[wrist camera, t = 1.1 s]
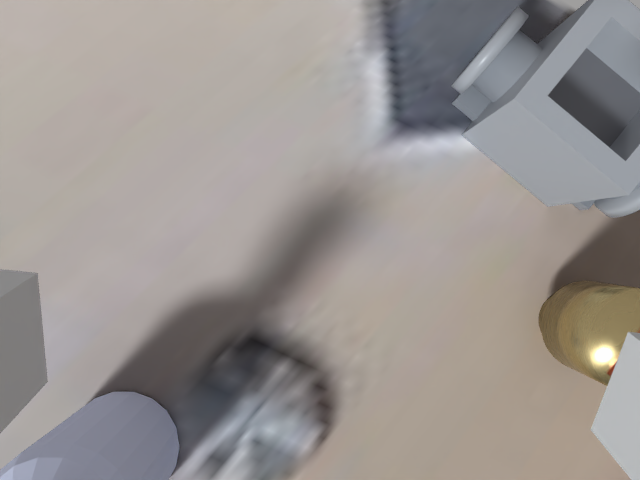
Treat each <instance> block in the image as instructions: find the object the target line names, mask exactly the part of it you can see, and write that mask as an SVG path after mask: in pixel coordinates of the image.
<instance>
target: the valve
mask: <svg viewBox="0 0 640 480" xmlns="http://www.w3.org/2000/svg"><path fill="white" fill-rule="evenodd" d="M539 327H540V330H541V332H542V336H543V340H544V343H545V345H546V347H547V349H548V350H549V352H550V353H551V354H552V355H553V357H554V358H555V359H557V360H558V361H559V362H560V363H562V364H564V365H565V366H567V367H569V368H571V369H574V370H576V371H578V372H580V373H582V374H584V375H586V376H588V377H590V378H592V379H594V380H596V381H598V382H600V383H602V384H604V385H606V386H608V383H609V381H610V378H611V375H612V373H613V370H614V367H615V365H616V362H617V360H618V357H619V354H620V352H621V349H622V346H623V344H624V341H625V338H626V336H627V333H628V332H634V333H640V288H635V287H628V286H621V285H614V284H607V283H600V282H593V281H578V282H574V283H571V284H568V285H566V286H564V287H562V288H561V289H559V290H558V291H557V292H556V293H555V294H554V295H552V296H551V297H550V298H548V299H547V300H546V301H545V303H544V304H543V306H542V308H541V310H540V313H539Z"/></svg>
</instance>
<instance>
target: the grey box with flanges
mask: <svg viewBox="0 0 640 480" xmlns="http://www.w3.org/2000/svg"><path fill="white" fill-rule="evenodd" d="M528 17H529V15H528V14H526V13H525V12H524V11H523V10H522V9H521V8H519V7H517V8H516V9H515V10H514V11H513V12H512V13H511V15H510V16H509V17H508V18H507V19H506V20H505V21H504V23H503V24H502V25H501V26H500V27H499V28H498V30H497V31H496V32H495V33H494V34H493V35H492V37H491V38H490V39H489V40H488V41H487V42H486V44H485V45H484V46H483V47H482V48H481V50H480V51H479V52H478V53H477V54H476V56H475V57H474V58H473V59H472V60H471V62H470V63H469V64H468V65H467V67H466V68H465V69H464V70H463V71H462V73H461V74H460V75H459V76H458V78H457V79H456V80H455V82H454V83H453V84H452V87H453V88H454V89H455V90H457V91H458V92H459V93H460V94H459V95H458V96H457V98H456V99H455V100H454V101H453V102H452V104H453V105H454V106H455V107H457V108H458V109H459V110H460V111H461V112H463V113H464V114H465V115H466V116H467V117H469V118H470V119H471V120H472V121H473V122H472V123H471V124H470V125H469V126H468V128H467V129H466V130H465V131H464V133H463V134H462V136H463V137H465V138H466V139H467V140H468V141H469V142H471V143H472V144H473V145H474V146H475V147H477V148H478V149H479V150H480V151H481V152H483V153H484V154H485V155H486V156H487V157H489V158H490V159H491V160H492V161H493V162H495V163H496V164H497V165H498V166H499V167H501V168H502V169H503V170H504V171H505V172H507V173H508V174H509V175H510V176H511V177H513V178H514V179H515V180H516V181H518V182H519V183H520V184H521V185H522V186H524V187H525V188H526V189H527V190H528V191H530V192H531V193H532V194H533V195H534V196H536V197H537V198H538V199H539V200H540V201H542V202H543V203H544V204H545V205H546V206H555V205H563V204H570V203H572V204H573V205H574V206H575V207H577V208H578V209H579V210H586V209H589V208H590V207H591V206H592V205H593V203H594V204H595V206H596V207H597V208H598V209H599V210H600V211H602V212H603V213H604V214H605V215H606V216H608V217H622V216H626V215H629V214H631V213H634V212H636V211H638V210H640V9H638V8H637V7H636V6H635V5H634V4H632V3H631V2H630V1H629V0H588V1H587V2H586V3H585V4H583V5H582V6H581V7H580V8H579V9H578V10H576V11H575V12H574V13H573V14H572V15H571V16H569V17H568V18H567V19H566V20H565V21H564V22H562V23H561V24H560V25H559V26H558V27H557V28H555V29H554V30H553V31H552V32H551V33H550V34H548V35H547V36H546V37H545V38H544V39H543V40H541V41H540V42H539V43H538V44H536V43H535V42H534V41H533V40H531V39H530V38H529V37H528V36H527V35H525V34H524V33H523V32H522V31H521V30H519V29H520V28H521V27H522V25H523V24H524V23H525V21H526V20H527V18H528Z"/></svg>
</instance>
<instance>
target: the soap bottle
mask: <svg viewBox="0 0 640 480" xmlns="http://www.w3.org/2000/svg"><path fill="white" fill-rule="evenodd" d="M179 448H180V447H179V441H178V435H177V429H176V426H175V424H174V423H173V421H172V419H171V417H170V416H169V414H168V412H167V411H166V410H165V409H164V408H163V407H162V406H161V405H159V404H158V403H157V402H156V401H155V400H153V399H152V398H149V397H147V396H144V395H141V394H139V393H136V392H111V393H108V394H106V395H103V396H100V397H97V398H95V399H93V400H92V401H91V402H89V403H88V404H86V405H85V406H84V407H82V408H81V409H80V410H78V411H77V412H76V413H74V414H73V415H72V416H70V417H69V418H68V419H66V420H65V421H63V422H62V423H61V424H59V425H58V426H57V427H55V428H54V429H53V430H51V431H50V432H49V433H47V434H46V435H44V436H43V437H42V438H40V439H39V440H38V441H36V442H35V443H34V444H32V445H31V446H30V447H28V448H27V449H26V450H24V451H23V452H21V453H20V454H19V455H18V456H17V457H15V458H14V459H13V460H12V461H10V462H9V463H8V464H7V465H6V466H4V467H3V468H2V469H1V470H0V480H168V479H169V478H170V476H171V474H172V472H173V471H174V469H175V467H176V464H177V458H178V453H179Z"/></svg>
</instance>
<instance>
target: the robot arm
mask: <svg viewBox="0 0 640 480" xmlns="http://www.w3.org/2000/svg"><path fill="white" fill-rule="evenodd" d="M47 382H48V381H47V370H46V359H45V348H44V337H43V326H42V315H41V305H40V294H39V283H38V273H32V272H22V271H12V270H2V269H0V433H1V432H2V431H3V430H4V429H5V428H6V427H7V426H8V424H9V423H10V422H11V421H12V420H13V419H14V418H15V417H16V416H17V415H18V414H19V412H20V411H21V410H22V409H23V408H24V407H25V406H26V405H27V404H28V403H29V401H30V400H31V399H32V398H33V397H34V396H35V395H36V394H37V393H38V392H39V391H40V389H41V388H42V387H43V386H44V385H45V384H46V383H47ZM591 431H592V432H593V433H594V434H595V436H596V437H597V438H598V439H599V440H600V442H601V443H602V444H603V445H604V447H605V448H606V449H607V450H608V452H609V453H610V454H611V455H612V456H613V458H614V459H615V460H616V461H617V463H618V464H619V465H620V466H621V468H622V469H623V470H624V471H625V472H626V474H627V475H628V476H629V477H630V479H631V480H640V333H634V332H628V333H627V336H626V338H625V341H624V344H623V346H622V349H621V352H620V354H619V357H618V360H617V362H616V365H615V367H614V370H613V373H612V375H611V378H610V381H609V383H608V386H607V388H606V391H605V394H604V396H603V399H602V402H601V404H600V407H599V409H598V412H597V415H596V417H595V420H594V423H593V425H592V428H591Z"/></svg>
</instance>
